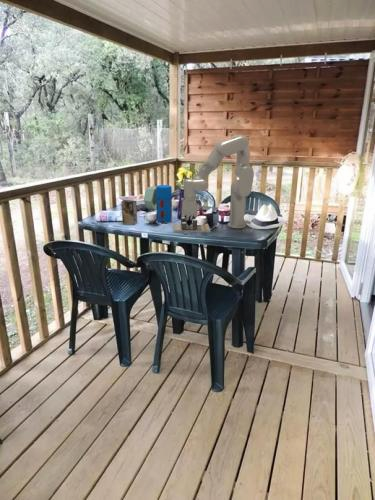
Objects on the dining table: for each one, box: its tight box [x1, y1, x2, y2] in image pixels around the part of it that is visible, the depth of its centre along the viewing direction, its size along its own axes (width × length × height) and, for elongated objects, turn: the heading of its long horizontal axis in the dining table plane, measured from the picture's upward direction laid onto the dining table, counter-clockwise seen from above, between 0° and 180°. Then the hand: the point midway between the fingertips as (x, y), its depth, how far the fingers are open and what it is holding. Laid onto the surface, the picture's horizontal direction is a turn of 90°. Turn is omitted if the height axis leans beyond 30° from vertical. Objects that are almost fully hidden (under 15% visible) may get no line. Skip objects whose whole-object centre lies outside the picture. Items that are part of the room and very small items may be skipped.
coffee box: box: [120, 199, 138, 226], centre depth 245 cm, size 9×6×16 cm
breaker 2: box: [182, 221, 187, 229], centre depth 230 cm, size 3×2×4 cm
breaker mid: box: [192, 219, 198, 227], centre depth 236 cm, size 3×2×4 cm
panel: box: [172, 222, 211, 234], centre depth 237 cm, size 24×16×2 cm, turn 94°
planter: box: [143, 185, 157, 211], centre depth 285 cm, size 17×8×21 cm
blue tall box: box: [156, 184, 173, 224], centre depth 250 cm, size 11×11×25 cm
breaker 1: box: [180, 217, 187, 224], centre depth 241 cm, size 3×2×4 cm
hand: (189, 225), depth 236 cm, fingers closed
